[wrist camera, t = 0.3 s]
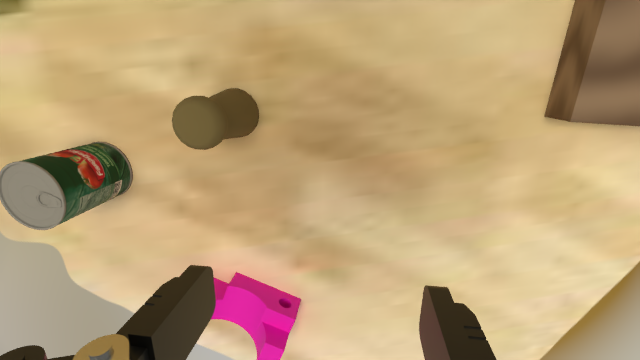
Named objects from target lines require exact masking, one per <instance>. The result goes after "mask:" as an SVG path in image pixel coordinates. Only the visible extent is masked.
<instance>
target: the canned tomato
mask: <svg viewBox="0 0 640 360" xmlns="http://www.w3.org/2000/svg"><path fill="white" fill-rule="evenodd" d="M131 182H132V169H131V166H130V163H129V161H128V159H127V158H126V156H125V155H124V154H123V153H122V152H121V151H120V150H119V149H118V148H116V147H115V146H113V145H111V144H108V143H105V142H94V143H91V144H88V145H83V146H79V147H76V148H71V149H67V150H62V151H59V152H55V153H50V154H47V155H42V156H38V157H35V158H29V159H26V160H23V161H18V162H12V163H10V164H7V165H6V166H5V167H3V169H2V170H1V171H0V200H1V202H2V204H3V206H4V207H5V209H6V210H7V211H8V213H9V214H10V215H11V216H12V217H13V218H14V219H16V220H17V221H18V222H20V223H21V224H23V225H25V226H27V227H29V228H33V229H37V230H48V229H51V228H54V227H55V226H57V225H58V224H61V223H63V222H65V221H67V220H69V219H71V218H73V217H75V216H77V215H79V214H81V213H84V212H85V211H88V210H90V209H91V208H94V207H96V206H98V205H100V204H102V203H104V202H106V201H108V200H110V199H112V198H114V197H116V196H118V195H121V194H123V193H124V192H126V191H127V190H128V189H129V187H130V185H131Z"/></svg>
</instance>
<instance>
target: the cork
mask: <svg viewBox="0 0 640 360" xmlns="http://www.w3.org/2000/svg"><path fill="white" fill-rule="evenodd" d="M258 119H259V110H258V107H257V104H256V102H255V101H254V99H253V98H252V96H251V95H249V94H248V93H247V92H245V91H243V90H240V89H227V90H224V91H222V92H220V93H218V94H216V95H213V96H211V97H209V98H208V97H205V96H191V97H189V98H186V99H184V100H183V101H181V102H180V103H179V104H178V105H177V106H176V108H175V110H174V112H173V117H172V123H173V129H174V131H175V134H176V135H177V137H178V138H179V139H180V140H181V142H183V143H184V144H185V145H187V146H188V147H191V148H194V149H204V150H206V149H209V148H213V147H215V146H216V145H218V144H219V143H220V142H222V140H223V139H229V138H237V137H243V136H246V135H248V134H250V133H251V132H252V131H253V130H254V129H255V127H256V126H257V123H258Z"/></svg>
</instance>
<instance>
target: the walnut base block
mask: <svg viewBox="0 0 640 360" xmlns="http://www.w3.org/2000/svg"><path fill="white" fill-rule="evenodd" d="M545 117H550V118H555V119H559V120H564V121H569V122H582V123H598V124H613V125H629V126H640V0H575V3H574V7H573V11H572V15H571V18H570V22H569V26H568V30H567V33H566V37H565V41H564V45H563V48H562V52H561V56H560V60H559V63H558V67H557V71H556V75H555V78H554V82H553V86H552V90H551V93H550V97H549V101H548V105H547V108H546V112H545Z"/></svg>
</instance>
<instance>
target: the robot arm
mask: <svg viewBox="0 0 640 360" xmlns="http://www.w3.org/2000/svg"><path fill="white" fill-rule="evenodd" d="M215 305H216V297H215V287H214V278H213V270H212V268H211V267H208V266H196V265H190V266H189V267H188V268H187V269H186V270H185V271H184V272H183V273H182V275H181V276H180V277H175V278H173V279H171V280H170V281H168V282H166V283H165V284H163V285H162V286H161V287H160V288H159V289H158V290H157V291H156V292H155V293H154V294H153V296H152V297H150V298H149V299H148V300H147V301H146V302H145V305H143V306H142V307H141V308H140V309H139V310H138V311H137V312H136V313H135V314H134V315H133V316H132V317H131V318H130V320H128V321H127V322H126V323H125V325H124V326H123V327H122V328H121V329H120V330H119V331H118V332H117V333H116V334H111V335H107V336H103V337H100V338H97V339H96V340H93V341H91V342H90V343H88V344H87V345H85V346H84V347H83V348H81V349H80V350H79V351H78V352H77V353H76V355H71V356H65V357H58V358H52V359H47V357H46V353H45V351H44V349H43V348H42V347H40V346H35V345H34V346H33V345H32V346H25V347H20V348H17V349H15V350H12V351H9V352H7V353H5V354H3V355H1V356H0V360H186V358H187V357H188V355H189V353H190V352H191V350H192V349H193V347H194V345H195V344H196V342H197V340H198V339H199V337H200V336H201V334H202V332H203V331H204V329H205V328H206V326H207V324H208V323H209V321H210V319H211V318H212V316H213V313H214V310H215ZM419 331H420V340H421V344H422V349H423V353H424V357H425V360H496V358H495V356H494V354H493V351H492V349H491V347H490V345H489V343H488V341H486V337H485V335H484V333H483V330H481V326H480V324H479V322H478V320H477V318H476V316H475V314H474V313H473V312H472V311H471V310H470V309H469V308H468V307H467V306H466V305H465V304H461V303H454V301H453V299H452V296H451V294H450V291H449V289H448V288H447V287H437V286H425V287H424V292H423V299H422V307H421V314H420V323H419Z"/></svg>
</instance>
